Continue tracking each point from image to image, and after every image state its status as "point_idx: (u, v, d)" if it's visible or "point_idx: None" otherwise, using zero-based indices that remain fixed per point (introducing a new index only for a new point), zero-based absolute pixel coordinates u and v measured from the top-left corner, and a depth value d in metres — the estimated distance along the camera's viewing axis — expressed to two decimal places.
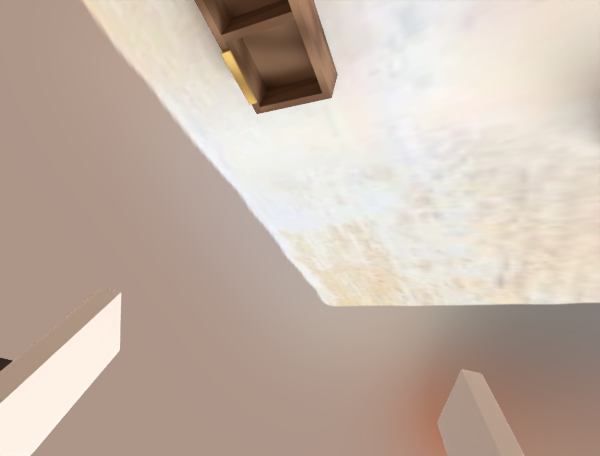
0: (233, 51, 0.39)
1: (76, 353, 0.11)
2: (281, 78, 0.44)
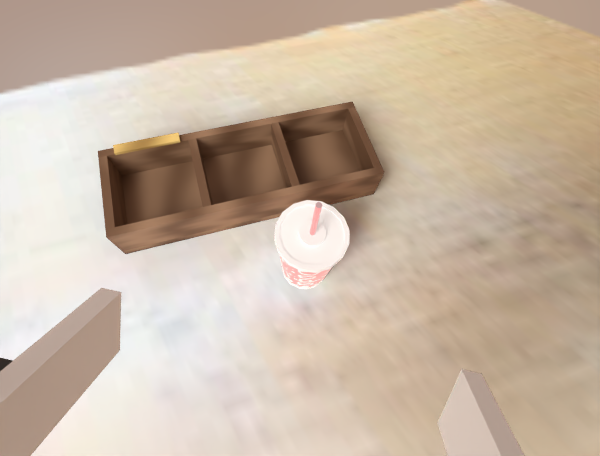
0: (177, 146, 0.38)
1: (76, 353, 0.11)
2: (131, 192, 0.39)
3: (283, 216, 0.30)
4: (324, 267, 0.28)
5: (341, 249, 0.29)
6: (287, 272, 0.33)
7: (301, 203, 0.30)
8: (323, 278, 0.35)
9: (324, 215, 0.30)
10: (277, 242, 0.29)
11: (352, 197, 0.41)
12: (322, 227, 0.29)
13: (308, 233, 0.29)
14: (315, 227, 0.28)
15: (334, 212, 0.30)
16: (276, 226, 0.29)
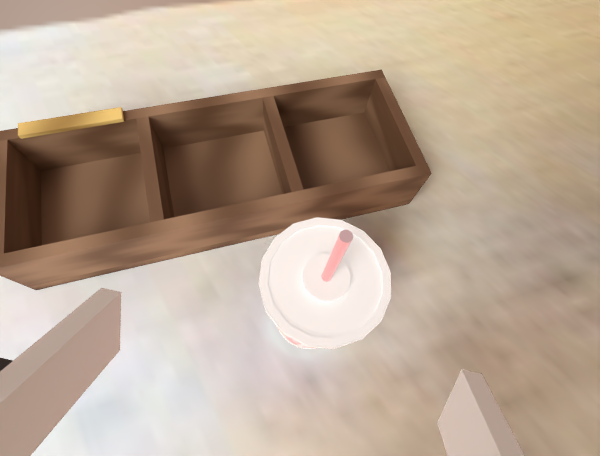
0: (120, 128, 0.25)
1: (76, 353, 0.11)
2: (53, 195, 0.26)
3: (275, 245, 0.17)
4: (348, 342, 0.15)
5: (376, 308, 0.16)
6: None
7: (307, 223, 0.18)
8: None
9: None
10: (264, 293, 0.16)
11: (378, 208, 0.28)
12: (344, 267, 0.17)
13: (318, 278, 0.16)
14: (333, 271, 0.15)
15: (364, 239, 0.17)
16: (263, 263, 0.17)
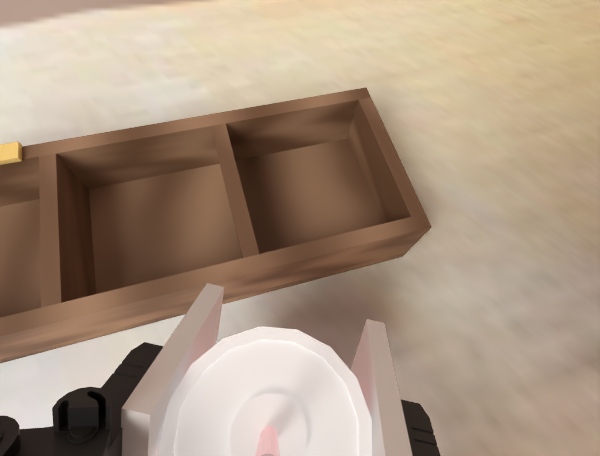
0: (19, 168, 0.19)
1: (202, 339, 0.13)
2: None
3: (192, 378, 0.11)
4: None
5: None
6: None
7: (244, 336, 0.11)
8: None
9: (304, 371, 0.11)
10: None
11: (364, 264, 0.22)
12: (297, 417, 0.10)
13: (255, 440, 0.10)
14: None
15: (331, 363, 0.11)
16: (169, 412, 0.10)
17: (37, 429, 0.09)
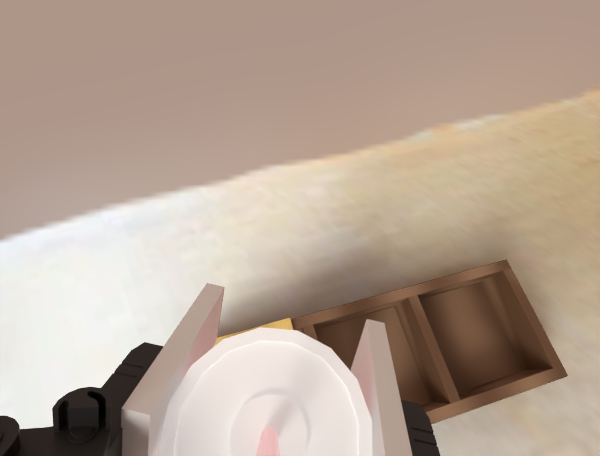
0: None
1: (202, 339, 0.13)
2: None
3: (192, 379, 0.11)
4: None
5: None
6: None
7: (244, 337, 0.11)
8: None
9: (304, 372, 0.11)
10: None
11: None
12: (297, 418, 0.10)
13: (256, 441, 0.10)
14: None
15: (331, 364, 0.11)
16: (169, 413, 0.10)
17: (37, 429, 0.09)
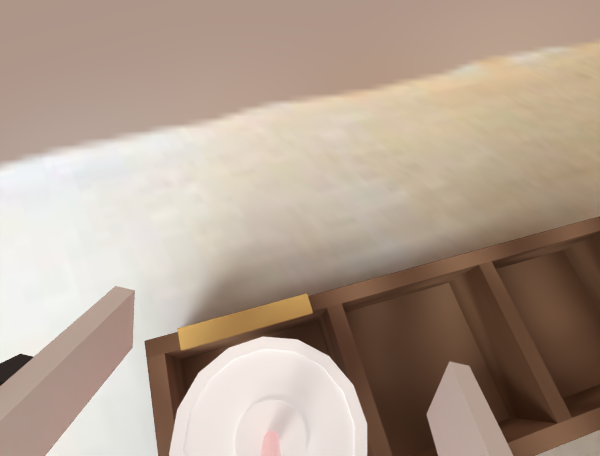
0: (301, 317, 0.19)
1: (93, 349, 0.12)
2: None
3: (200, 386, 0.12)
4: None
5: None
6: None
7: (248, 346, 0.12)
8: None
9: (304, 379, 0.12)
10: None
11: None
12: (297, 422, 0.11)
13: (259, 444, 0.11)
14: None
15: (329, 371, 0.12)
16: (178, 418, 0.11)
17: None
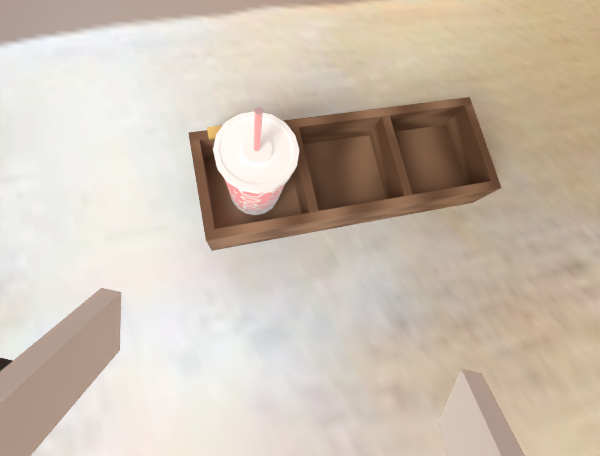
0: None
1: (76, 353, 0.11)
2: (217, 179, 0.34)
3: (226, 126, 0.26)
4: (265, 188, 0.25)
5: (286, 170, 0.26)
6: (231, 193, 0.30)
7: (248, 114, 0.27)
8: (272, 204, 0.33)
9: (273, 131, 0.27)
10: (216, 155, 0.25)
11: (452, 205, 0.37)
12: (268, 143, 0.26)
13: (251, 149, 0.26)
14: (258, 141, 0.24)
15: (285, 128, 0.27)
16: (216, 137, 0.26)
17: None
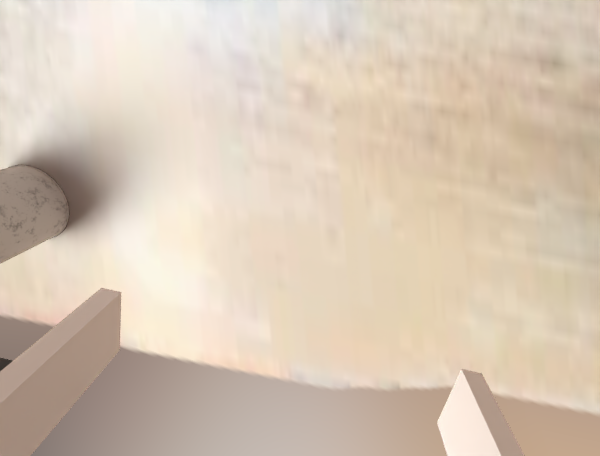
0: None
1: (76, 353, 0.11)
2: None
3: None
4: None
5: None
6: None
7: None
8: None
9: None
10: None
11: None
12: None
13: None
14: None
15: None
16: None
17: None
